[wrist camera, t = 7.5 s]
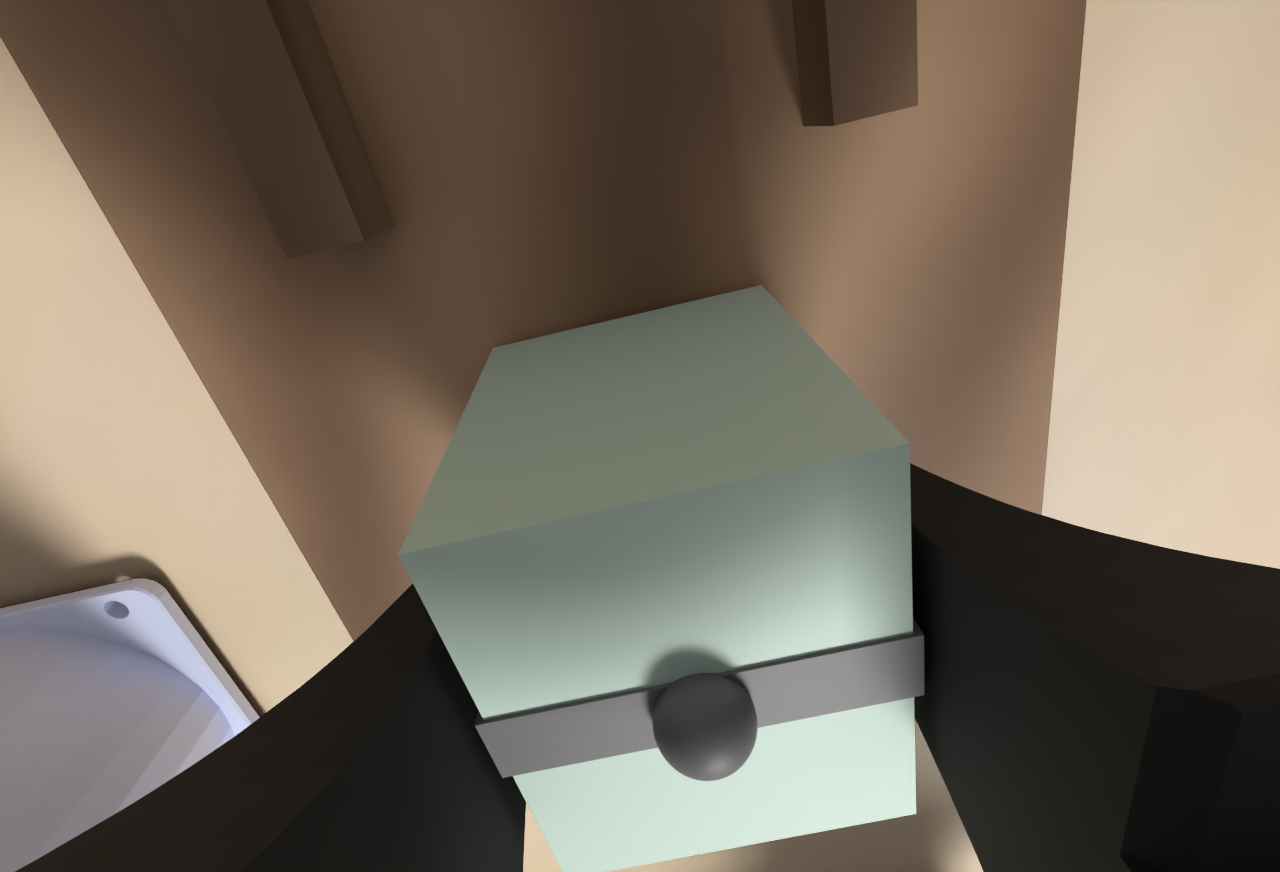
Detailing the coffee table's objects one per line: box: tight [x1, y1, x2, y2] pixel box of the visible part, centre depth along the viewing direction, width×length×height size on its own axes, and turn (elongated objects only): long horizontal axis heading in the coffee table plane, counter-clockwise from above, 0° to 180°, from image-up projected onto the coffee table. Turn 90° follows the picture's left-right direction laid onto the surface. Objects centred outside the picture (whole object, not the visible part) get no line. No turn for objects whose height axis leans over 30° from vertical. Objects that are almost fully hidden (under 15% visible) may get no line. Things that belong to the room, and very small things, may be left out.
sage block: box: [398, 285, 924, 872], centre depth 10 cm, size 5×6×7 cm
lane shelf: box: [0, 0, 1086, 641], centre depth 10 cm, size 16×25×2 cm, turn 12°
